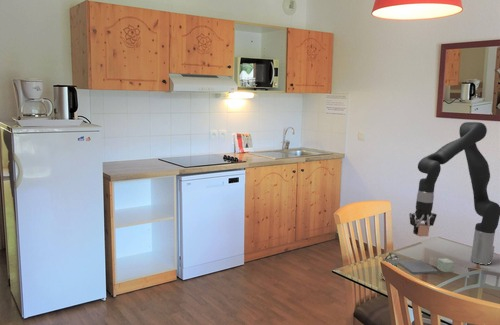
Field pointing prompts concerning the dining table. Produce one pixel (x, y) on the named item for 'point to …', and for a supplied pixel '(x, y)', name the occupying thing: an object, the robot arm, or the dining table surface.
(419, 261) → the baseplate
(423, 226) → the terracotta brick
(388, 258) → the food container
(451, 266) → the sage brick
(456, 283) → the dining table surface
